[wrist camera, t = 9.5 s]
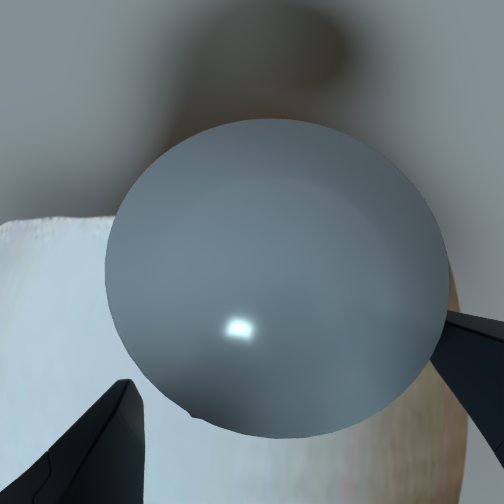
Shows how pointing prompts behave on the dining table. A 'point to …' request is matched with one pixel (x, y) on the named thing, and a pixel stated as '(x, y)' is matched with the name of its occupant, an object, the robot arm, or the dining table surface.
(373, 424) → the dining table surface
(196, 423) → the dining table surface
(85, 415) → the robot arm
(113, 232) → the blue-gray container
